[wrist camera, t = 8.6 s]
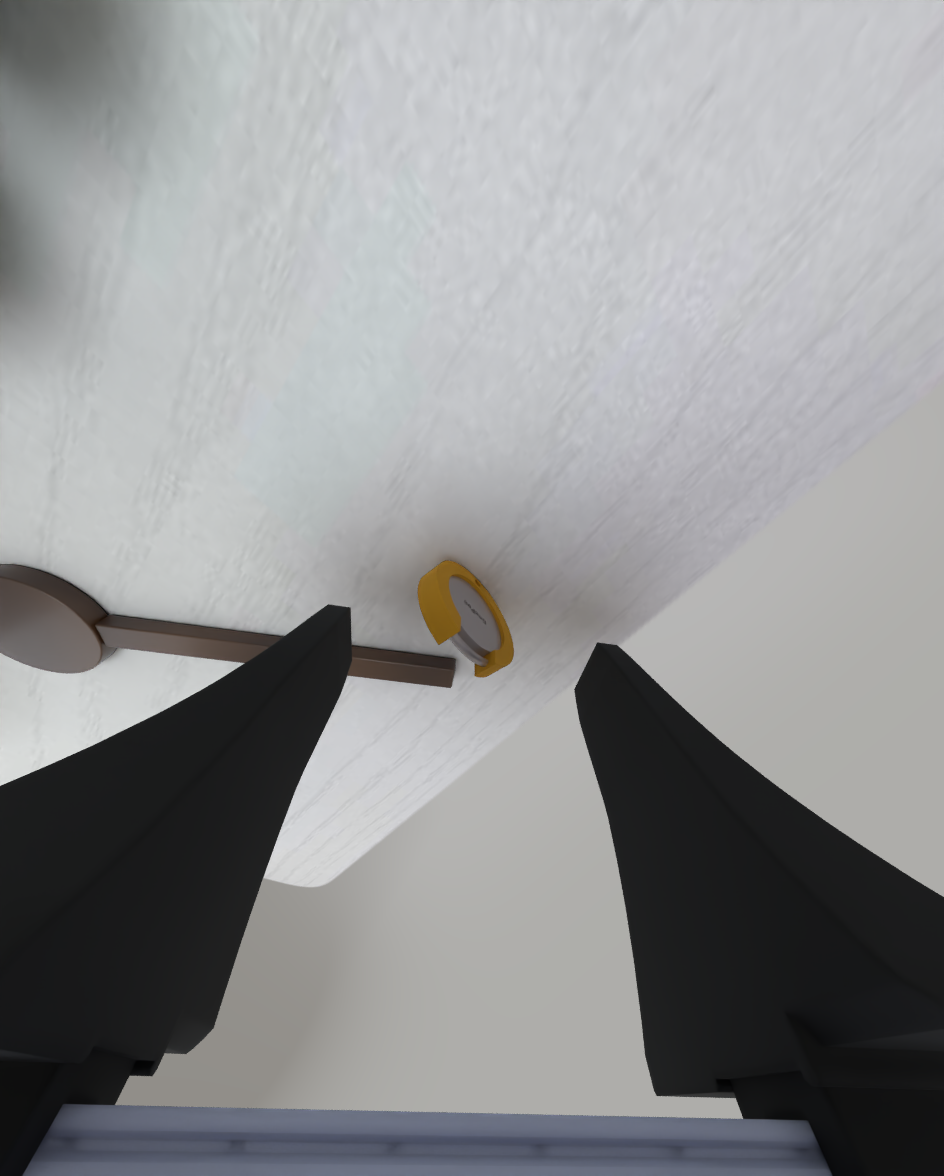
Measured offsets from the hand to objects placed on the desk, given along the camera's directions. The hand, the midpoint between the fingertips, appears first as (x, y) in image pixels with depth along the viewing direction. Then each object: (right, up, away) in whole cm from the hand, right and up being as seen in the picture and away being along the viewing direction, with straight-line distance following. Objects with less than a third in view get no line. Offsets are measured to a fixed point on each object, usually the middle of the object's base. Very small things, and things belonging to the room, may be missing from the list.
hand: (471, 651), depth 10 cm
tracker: (0, +2, +3) cm, 4 cm away
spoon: (-10, 0, +5) cm, 11 cm away
